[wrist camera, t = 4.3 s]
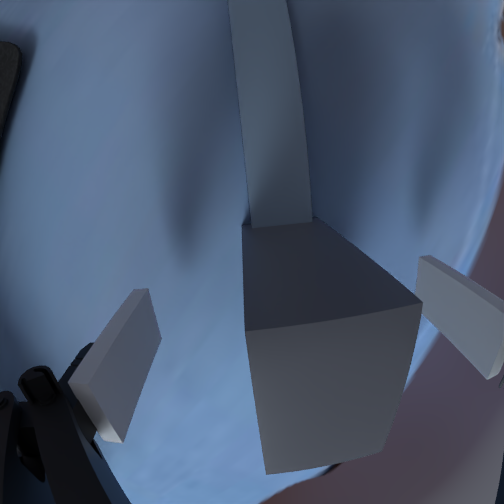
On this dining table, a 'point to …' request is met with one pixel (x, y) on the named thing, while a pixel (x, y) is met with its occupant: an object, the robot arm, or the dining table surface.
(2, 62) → the sushi plate
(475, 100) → the dining table surface
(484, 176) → the dining table surface
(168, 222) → the dining table surface
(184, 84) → the dining table surface
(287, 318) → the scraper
